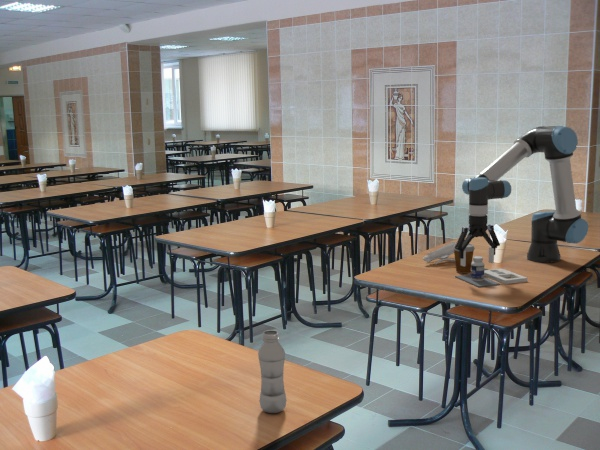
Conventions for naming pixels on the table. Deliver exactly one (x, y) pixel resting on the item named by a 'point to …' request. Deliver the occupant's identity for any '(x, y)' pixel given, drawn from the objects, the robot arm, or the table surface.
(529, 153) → the robot arm
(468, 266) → the disposable coffee cup
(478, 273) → the pill bottle
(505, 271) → the socket strip
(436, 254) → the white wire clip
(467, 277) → the rubber mat
